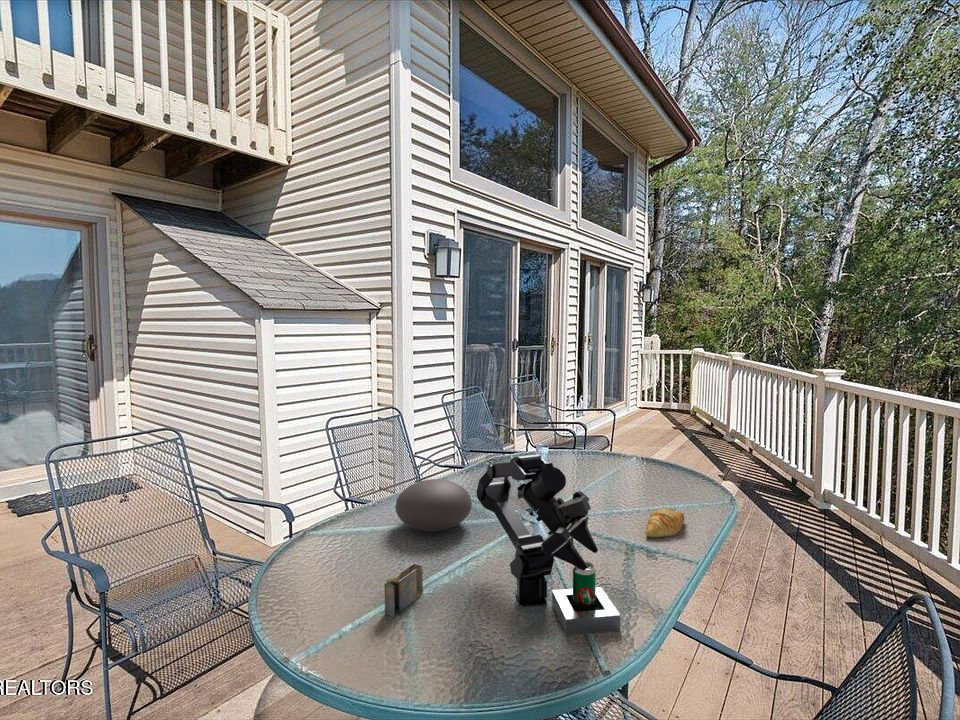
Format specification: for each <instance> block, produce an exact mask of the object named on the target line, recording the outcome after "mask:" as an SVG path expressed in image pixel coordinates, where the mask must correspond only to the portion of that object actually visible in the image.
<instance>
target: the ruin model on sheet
mask: <svg viewBox="0 0 960 720" xmlns="http://www.w3.org/2000/svg"><path fill="white" fill-rule="evenodd" d="M423 571H424V569H423V565H422V564H419V563H416V562H412V564H411V565H409V566H407V567H406V568H404V569H403V570H401V571H400V572H399V573H397V574H396V575H394V576H393V577H391V578H387V579H385V582H384V583H383V584H384V586H383V587H384V589H383V590H384V614H385V615H387V616H391V617H395V616H396V614H395V613H396V611H395V610H396V609H395V607H397V606H398V612H400V613H401V612H402V610H404V609H405V608H406V607H407V606H409V605H410V604H412V603H413V602H414V601H416V600H417V599H418V598H420V597H421V596H422V595H424V587H423V585H424V581H423V579H424V578H423V576H424V575H423V573H424V572H423Z"/></svg>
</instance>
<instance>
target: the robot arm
mask: <svg viewBox="0 0 960 720" xmlns="http://www.w3.org/2000/svg"><path fill="white" fill-rule="evenodd" d="M509 477H511V478H512V479H513V480H515V481H517V482H521V481H528V480H529V481H528V482H527V483H521V484H520V485H519V486H518V487H517V498H518V499H519V500H520V499H522V498H523V500H524V501H525V503H526V504H528V506H529V507H530V508H531V510H532V511H534V513H535V514H536V516H537V517H536V518H535V520H536V521H537V522H538V523H539V522H543V524H544V525H545V526H546V527H547V529H548V532H547V534H548V535H549V536H547V537H546V538H545V539H544V537H543V536H542V535H541V534H535V535H532V534H531V533H530V531H529V530H528V528H527V527H526V525H525V524H524V522H523V521H522V519H521V518H520V516H519V514H518V513H517V511H516V510H515V508H514V507H513V505H512V504H511V502H510V501H509V498H510V490H511V487H512V485H511V483H510V480H509ZM499 478H503V480H498V481H494V479H499ZM566 483H567V479H566V475H565V474H564V473H563V471H561V469H559V468H557V467H555V466H554V464H553V462H547V461H545V460H544V459H543V458H542V455H540V454H539V453H536V454H535V453H534V454H525V455H519V456H518V455H516V456H514V457H511V459H510V460H509V461H505V462H504V461H500V462H492V463H490V464H488V465H487V469H486V471H485V473H484V474H483V475H482V476H481V477H480V478H479V480H478V482H477V487H476V488H477V489H476V497H477V500H478V501H479V503H480V504H481V505H482V506H483V508H484V509H486V510H487V511H490V512H492V513H494V515H495V517H496V518H497V520H498V521H499V523H500V525H501V527H502V528H503V530H504V532H505V533H506V535H507V537H508V538H509V540H510V542H511V543H512V545H513V547H514V549H515V554H514V558H513V560H512V561H511V562H510V563H509V566H510V567H509V568H510V573H511V575H512V576H514V578H515V579H516V590H515V591H514V592H515V593H514V594H515V596H516V600H517V602H518V605H519V606H520V607H528V606H530V607H531V606H541V605H542V606H544V605H547V598H548V580H547V579H546V576H550V575H551V574H552V571H553V566H554V563H555V562H554V561H555V559H554V558H557V559H559V560H561V561H563V562H566V563H568V564H571V565H572V566H573V567H574V566H576V567H578V568H580V569H582V570H586V569H587V568H588V566H587V565H586V563H585V561H586V560H584V559H583V557H582V556H581V554H580V553H579V551H578V550H577V549H576V547H575V546H574V540H575V541H576V542H578V543H579V544H580V545H582V546H583V547H585V548H586V549H587V550H588V551H590V552H592V553H593V554H596V553H598V551H599V549H598V547H597V545H596V543H595V540H594V538H593V536H592V534H591V532H590V529H589V527H588V525H589V519H590V518H589V515H588V514H589V511H590V510H592V508H591V505H590V503H589V501H590V497H588V496H587V494H586V493H584V492H582V491H581V490H578V491H575V492H573V494H572V498H570V499H569V500H566V501H564V500H563V499H562V498H561V497H558V498H556V497H555V496H556V495H558V494H559V493H561V491H562V490H563V489H564V488H565V487H566V485H567V484H566ZM587 515H588V516H587Z"/></svg>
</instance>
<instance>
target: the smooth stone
mask: <svg viewBox="0 0 960 720" xmlns="http://www.w3.org/2000/svg"><path fill="white" fill-rule="evenodd" d="M472 506H473V502H472V498H471V495H470V494H469V492H468V490H466V488H465V487H463V486H462V485H460V484H458V483H456V482H454V481H451V480H448V479H439V478H433V479H423V480H420V481H417V482H415V483H413V484H411V485H410V484H409V486H408V487H406V488H405V489H403V490H402V492H400V494H399V495H398V497H397V499H396V502H395V507H394V508H395V513H396V515H397V518H399V520H400V521H402V522H403V523H404V524H405V525H406V526H408V527H410V528H412V529H413V530H414V529H415V530H418V531H422V532H429V533H430V532H431V533H432V532H441V531H447V530H448V529H451V528H454V527H456V526H458V525H459V524H460V525H461V523H462V522H464V521H465V520H466V519H467V517H468V516H469V515H470V513H471V511H472Z"/></svg>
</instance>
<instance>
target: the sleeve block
mask: <svg viewBox="0 0 960 720" xmlns="http://www.w3.org/2000/svg"><path fill="white" fill-rule="evenodd" d="M551 605H552V607H553V610H554V612H555V614H556V616H557V619H558V620H559V623H560V625H561V627H562V629H563V631H564V634H565V635H567V636H571V635H581V634H582V635H583V634H594V633H595V634H597V633H608V632H621V613H620V612H619V611H618V609H617V608H616V606H615V605H614V603H613V602H612V601H611V599H610V598H609V596H608V594H607V593H606V592H605V590H604V589H603V587H602V586H596V592H595V610H593V611H579V612H574V610H573V588H565V589H551Z"/></svg>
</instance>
